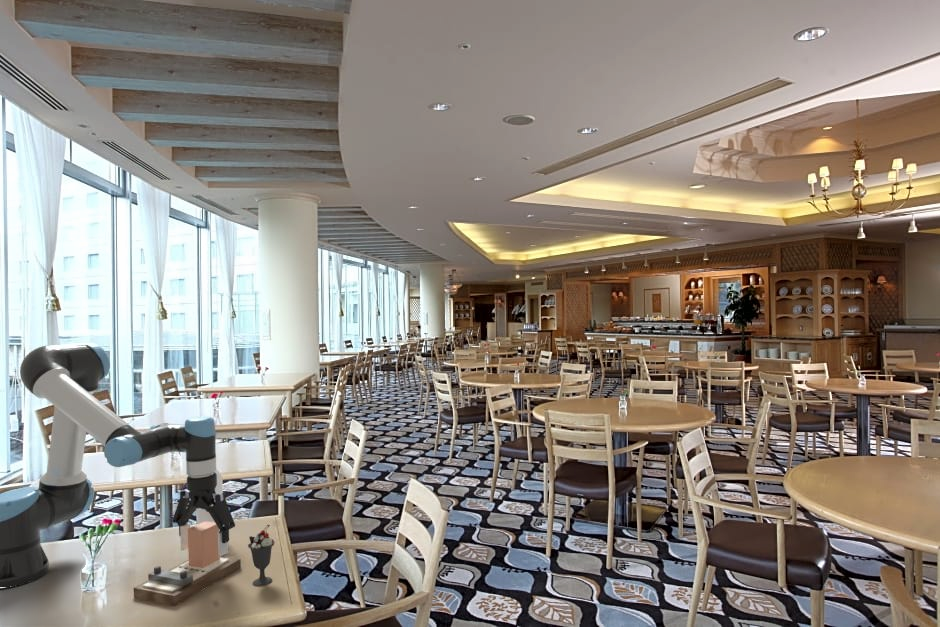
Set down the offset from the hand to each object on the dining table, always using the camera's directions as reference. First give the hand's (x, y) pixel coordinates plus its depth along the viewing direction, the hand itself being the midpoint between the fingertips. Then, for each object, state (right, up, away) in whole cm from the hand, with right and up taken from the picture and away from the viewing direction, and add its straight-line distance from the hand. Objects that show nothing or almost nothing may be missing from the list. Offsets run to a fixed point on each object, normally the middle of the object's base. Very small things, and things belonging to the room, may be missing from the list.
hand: (204, 551), depth 159 cm
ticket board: (-2, -6, -5) cm, 8 cm away
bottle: (-8, -6, +22) cm, 25 cm away
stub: (0, -4, 0) cm, 4 cm away
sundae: (+18, -6, -6) cm, 20 cm away
